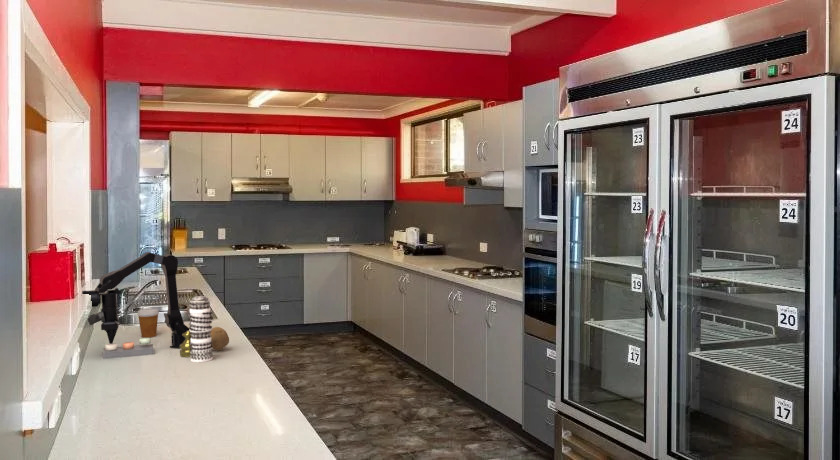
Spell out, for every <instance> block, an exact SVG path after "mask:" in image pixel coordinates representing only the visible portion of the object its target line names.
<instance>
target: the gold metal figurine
mask: <svg viewBox="0 0 840 460" xmlns="http://www.w3.org/2000/svg"><path fill="white" fill-rule="evenodd" d="M182 335H183V336H184V337H185V341H184V342H183V343H182V344H180V348H179V349H180V350H179V356H180V357H181V358H191V357H190V356H191V353H190V351H191V350H192V349H190V347H191V345H190V343H191V332H190V330H189V331H186V332H184V333H183V334H182Z"/></svg>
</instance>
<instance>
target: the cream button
mask: <svg viewBox="0 0 840 460" xmlns="http://www.w3.org/2000/svg"><path fill="white" fill-rule="evenodd" d="M104 346H105V347H104V348H106V350H107V351H111V350H116V349H117V347H118V344H117V343H114V342H113V343H112V344H110V343H107V344H105V345H104Z"/></svg>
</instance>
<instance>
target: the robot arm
mask: <svg viewBox="0 0 840 460" xmlns="http://www.w3.org/2000/svg"><path fill="white" fill-rule="evenodd" d="M149 263H154V264H159V265H160V266H161V270H162V272H163V274H164V275H163V276H164V279H165V288H166V289H165V290H166V291H165V292H166V298H167V299H166V300H167V312H165V313H163V315H164V316H163V317H164V323H165V324H166V326H167V327H168V328H169V329H170V330H171V345H170V346H169V348H173V349H180V344H182V343H183V342H184V341H185V337H184V336H183V335H182V334H183V333H184V332H186V331H190V329H189V326H187V325H186V324H185V321H184V318H183V316H182V313H181V310H180V307H179V306H180V305H179V295H178V285H177V272H178V267H179V266H178V264H179V260H178V258H177V257H176V256H175V255H172V254H169V253H168V254H162V255H161V254H156V253H152V252H151V251H148V252H147V251H146V252H144V253H143V254H142V255H140V256H139V257H136V259H134V260H132V261H131V262H129V263H126V265H124V266H123V267H120V268H119V269H116V270H112V271H110V272H108V273H105V274H103V275H101V276H100V278H99V283H98V285H97V286H96V287H95V289H94V290H82V291H81V295H82V294H89V295H91V301H92V307H91V308H98V307H99V305H101V308H100V311H98V312H95V313H92V314H90V315H89V316H88V317H89V318H88V320H87V322H88V324H89V326H93V325H94V324H97V323H99V322H101V324H100V329H101V331H104V332H106V335H107V339H108V342H109V343H108V344H112V343H114V341H115V337H116V336H117V331H118V329H119V323H120V316H119V315H118V300H117V299H118V298H117V297H118V295H121V294H122V291H121V290H119V288H118V287H117V286H119V285H120V284H121V283H122V281H124V280H125V279H126V278H127V277H128V276H130V275H132V274H133V273H135V272H137V271H138V270H140V269H142V268H143V267H145V266H147V265H148V264H149Z"/></svg>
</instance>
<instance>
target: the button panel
mask: <svg viewBox="0 0 840 460" xmlns="http://www.w3.org/2000/svg"><path fill="white" fill-rule="evenodd" d="M154 354H155V353H154V344H153V343H150V344H145V345H141V344H138V345H134V348H132V349H123V346H117V349H116V350H111V351H107V350H106V347H104V348H103V352H102V356H103V357H102V358H103V359H104V360H106V359H116V358H127V357H140V356H149V355H151V356H152V355H154Z"/></svg>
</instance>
